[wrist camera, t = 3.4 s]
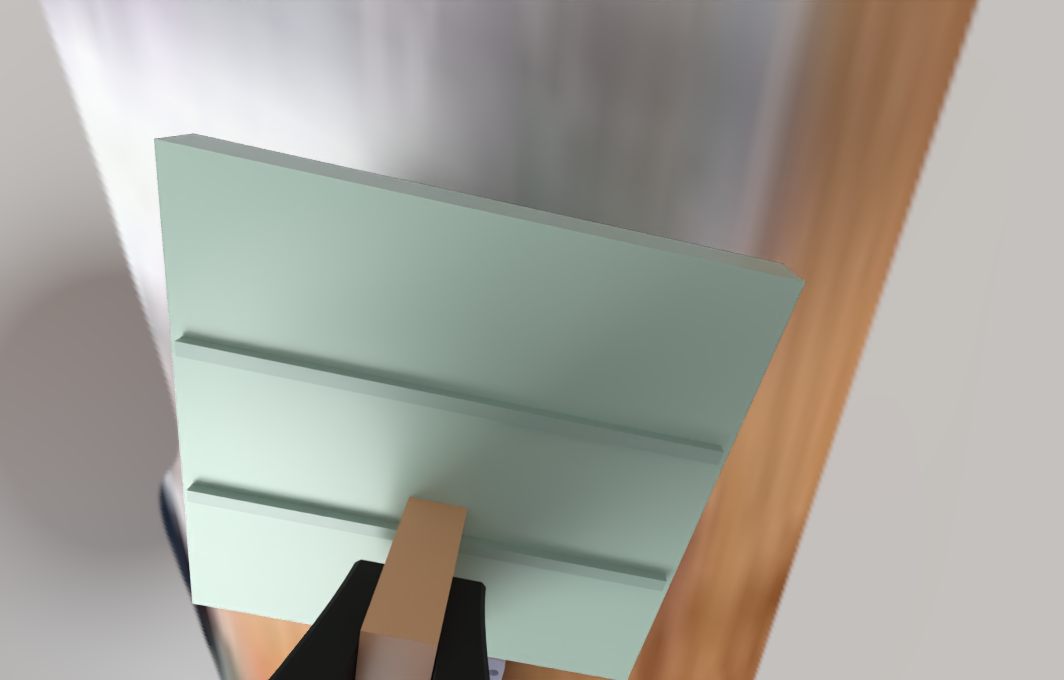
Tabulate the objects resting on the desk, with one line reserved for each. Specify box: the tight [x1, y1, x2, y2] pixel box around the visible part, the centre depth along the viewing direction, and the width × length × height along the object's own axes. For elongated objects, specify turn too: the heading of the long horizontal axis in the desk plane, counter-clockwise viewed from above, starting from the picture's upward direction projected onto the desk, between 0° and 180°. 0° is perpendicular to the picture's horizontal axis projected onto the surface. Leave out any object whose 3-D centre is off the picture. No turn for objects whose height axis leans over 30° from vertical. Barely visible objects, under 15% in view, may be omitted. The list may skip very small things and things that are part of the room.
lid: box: [154, 134, 805, 680], centre depth 10 cm, size 10×10×5 cm
